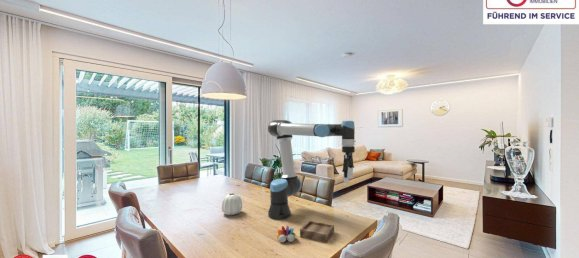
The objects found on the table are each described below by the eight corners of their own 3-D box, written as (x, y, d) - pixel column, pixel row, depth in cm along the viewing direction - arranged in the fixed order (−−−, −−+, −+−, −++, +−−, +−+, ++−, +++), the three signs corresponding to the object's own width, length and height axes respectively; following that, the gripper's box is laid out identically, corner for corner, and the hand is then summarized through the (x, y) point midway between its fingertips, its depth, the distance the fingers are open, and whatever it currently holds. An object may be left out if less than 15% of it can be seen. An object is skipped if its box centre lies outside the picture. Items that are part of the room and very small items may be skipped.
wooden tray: (300, 236, 126) (299, 229, 126) (309, 227, 138) (309, 220, 138) (326, 242, 119) (326, 234, 119) (334, 232, 131) (334, 224, 131)
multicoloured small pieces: (276, 236, 127) (276, 223, 127) (294, 235, 128) (294, 222, 128) (277, 244, 119) (277, 229, 119) (296, 243, 120) (296, 228, 120)
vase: (217, 215, 160) (217, 195, 159) (230, 208, 172) (229, 190, 172) (234, 218, 154) (234, 197, 154) (246, 211, 167) (246, 192, 167)
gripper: (350, 147, 131) (350, 185, 131) (358, 144, 153) (358, 176, 154) (337, 147, 134) (337, 184, 134) (346, 144, 157) (346, 175, 157)
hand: (348, 180), depth 144 cm, fingers open, 13 cm apart
